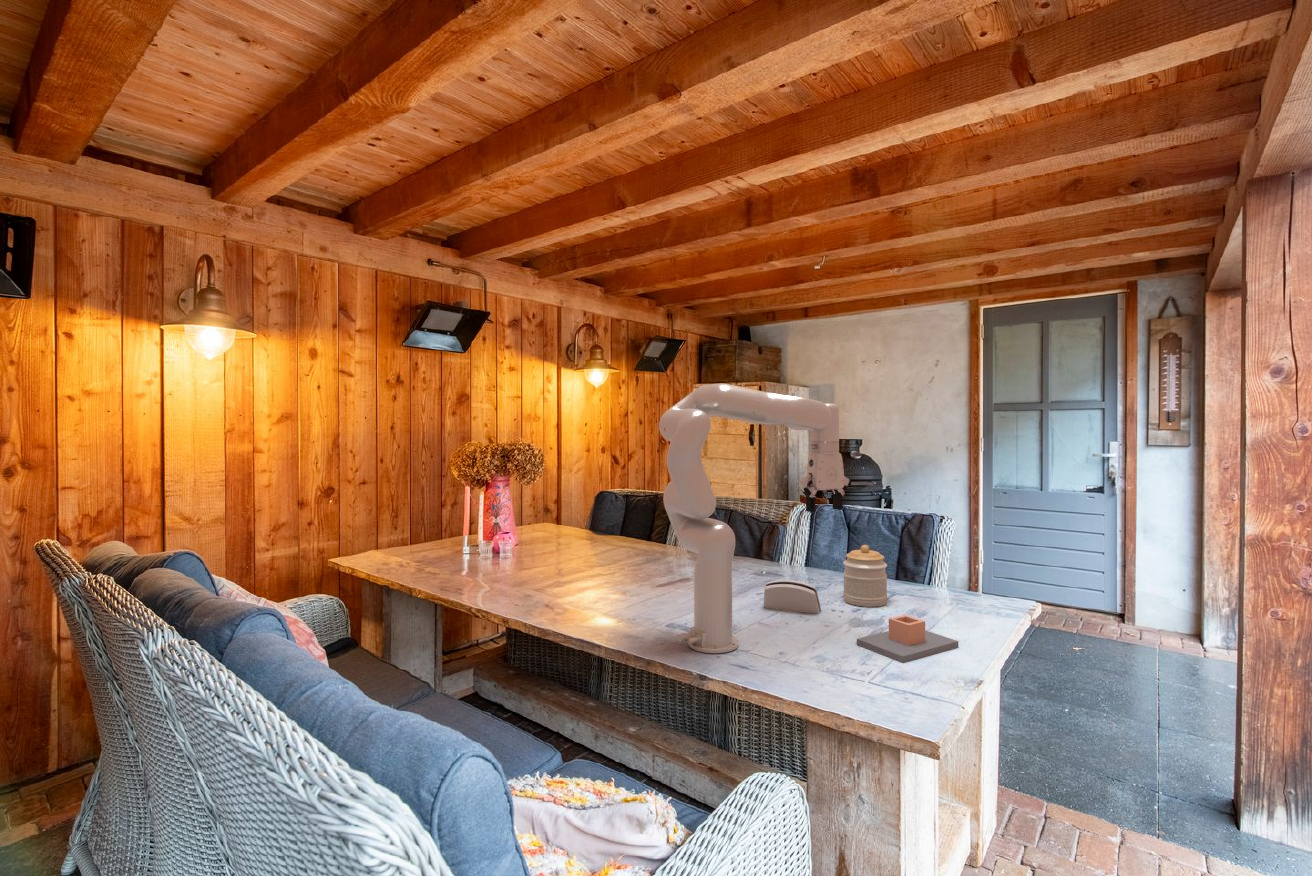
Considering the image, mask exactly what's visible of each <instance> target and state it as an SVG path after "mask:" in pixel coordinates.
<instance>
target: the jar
mask: <svg viewBox="0 0 1312 876" xmlns="http://www.w3.org/2000/svg"><path fill="white" fill-rule="evenodd" d="M845 557H846V559H845V560H844V561H843V562H842V564H843V565H844V571H843V573H842V575H843V600H844V602H845V603H847V604H849V605H852V606H857V607H865V608H867V607H868V608H874V607H875V608H876V607H882V606H884V605H886V604H887V601H888V593H887V591H888V590H887V589H888V588H887V587H888V585H887V584H888V579H887V578H888V574H887V571H886V568H887V567H888V563H886V562H885V561H884V559H885V556H884V555H883V554H881V553H880V552H878V551H876V550H872V549H870V546H869V545H867V544H863V545H861V546H860V549H853V550H851V551H850V552H848V553H846V554H845Z"/></svg>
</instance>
